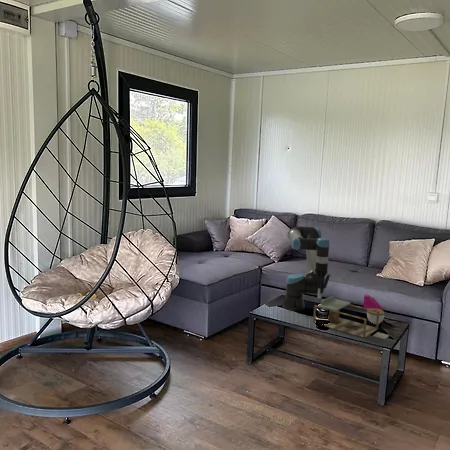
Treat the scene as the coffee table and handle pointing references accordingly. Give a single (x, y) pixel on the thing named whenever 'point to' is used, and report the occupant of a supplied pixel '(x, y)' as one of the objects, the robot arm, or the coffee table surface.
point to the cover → (333, 303)
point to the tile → (381, 335)
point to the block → (333, 316)
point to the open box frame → (351, 324)
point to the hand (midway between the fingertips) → (319, 298)
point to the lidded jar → (375, 315)
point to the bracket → (371, 303)
